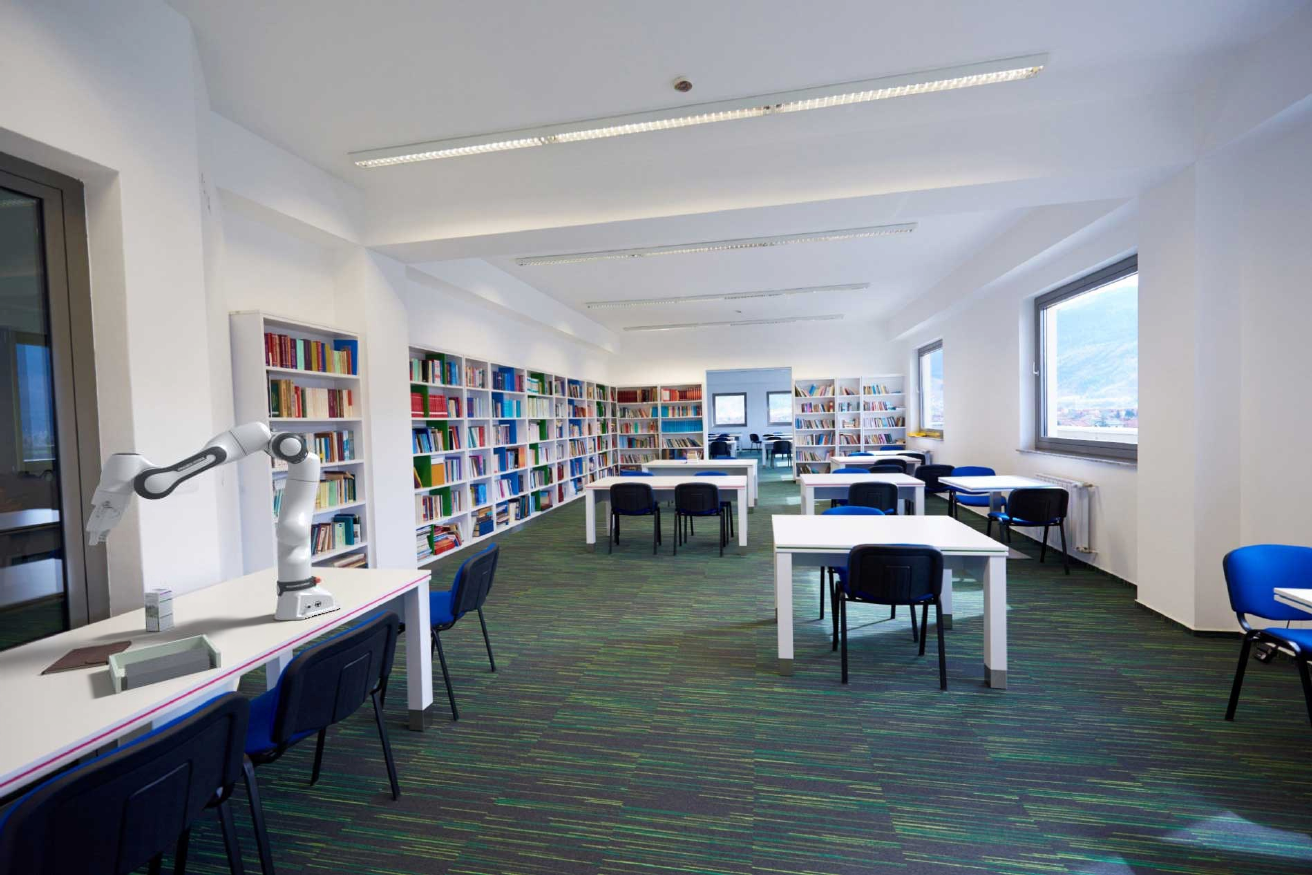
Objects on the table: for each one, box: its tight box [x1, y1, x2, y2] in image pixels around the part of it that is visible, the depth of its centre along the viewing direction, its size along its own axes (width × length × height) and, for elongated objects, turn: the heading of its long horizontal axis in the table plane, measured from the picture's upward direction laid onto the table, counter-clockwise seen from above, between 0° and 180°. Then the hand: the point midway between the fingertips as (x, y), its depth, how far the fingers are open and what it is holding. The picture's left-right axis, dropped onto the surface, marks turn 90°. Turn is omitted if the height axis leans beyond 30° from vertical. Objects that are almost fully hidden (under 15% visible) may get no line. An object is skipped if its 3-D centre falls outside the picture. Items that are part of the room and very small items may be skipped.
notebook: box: [41, 639, 133, 676], centre depth 180 cm, size 15×20×2 cm
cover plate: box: [123, 647, 211, 691], centre depth 167 cm, size 18×13×4 cm
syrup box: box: [144, 587, 175, 632], centre depth 207 cm, size 6×6×14 cm
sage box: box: [108, 633, 222, 695], centre depth 171 cm, size 23×24×4 cm
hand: (97, 543), depth 182 cm, fingers open, 8 cm apart
